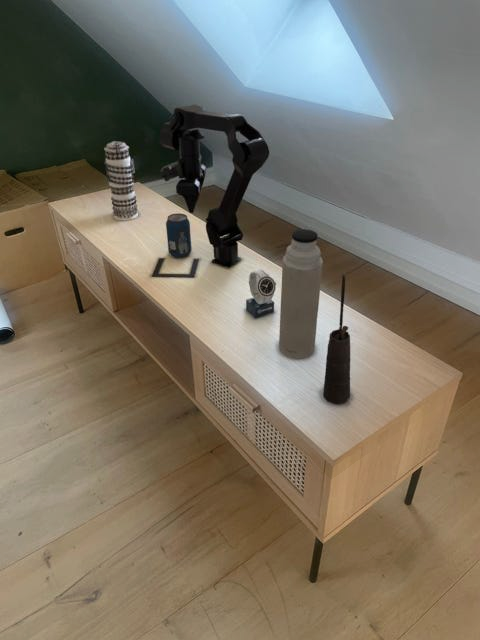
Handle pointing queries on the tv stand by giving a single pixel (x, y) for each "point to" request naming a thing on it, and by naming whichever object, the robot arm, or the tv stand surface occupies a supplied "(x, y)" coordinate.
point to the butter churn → (338, 362)
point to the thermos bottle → (300, 295)
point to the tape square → (158, 266)
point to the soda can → (178, 235)
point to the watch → (260, 294)
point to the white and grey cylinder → (121, 180)
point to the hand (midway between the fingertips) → (193, 206)
